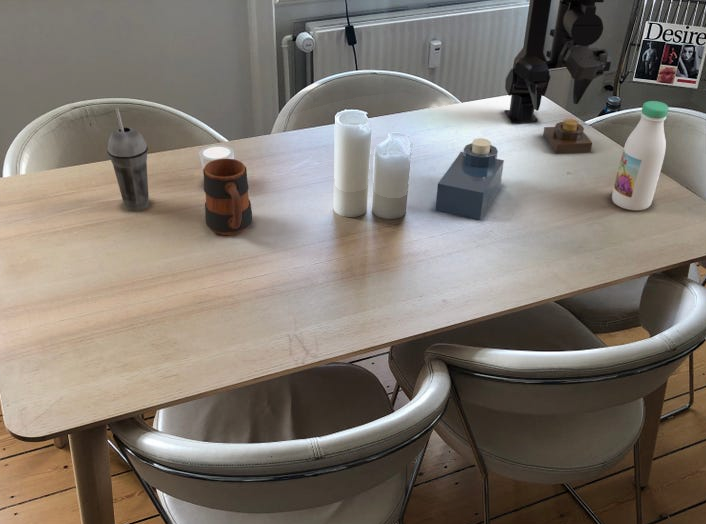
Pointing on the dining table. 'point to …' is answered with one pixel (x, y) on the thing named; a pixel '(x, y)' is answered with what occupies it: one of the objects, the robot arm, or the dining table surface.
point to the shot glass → (215, 154)
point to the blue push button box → (470, 183)
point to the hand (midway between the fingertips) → (555, 106)
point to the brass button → (570, 124)
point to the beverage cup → (130, 165)
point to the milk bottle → (642, 159)
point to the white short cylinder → (481, 146)
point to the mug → (227, 197)
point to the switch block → (567, 139)
